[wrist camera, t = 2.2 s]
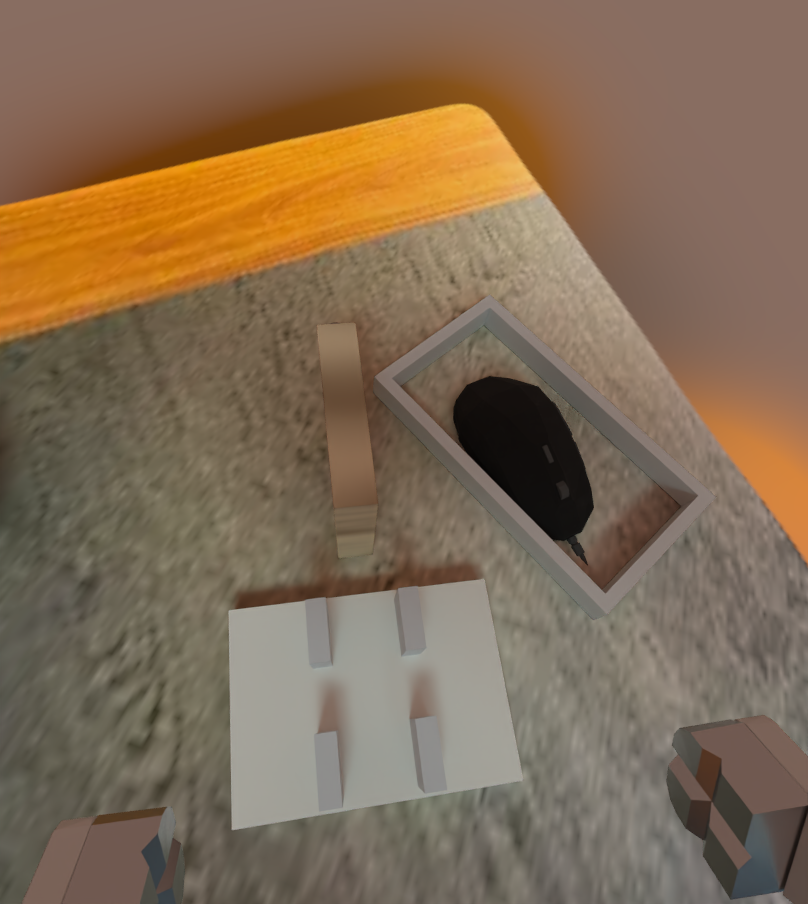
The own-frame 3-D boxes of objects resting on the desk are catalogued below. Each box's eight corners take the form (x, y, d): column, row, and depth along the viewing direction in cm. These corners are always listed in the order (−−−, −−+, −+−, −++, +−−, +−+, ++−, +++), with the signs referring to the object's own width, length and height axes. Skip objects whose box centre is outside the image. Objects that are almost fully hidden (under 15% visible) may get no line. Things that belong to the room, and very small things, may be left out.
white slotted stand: (515, 777, 30) (541, 786, 26) (237, 824, 28) (218, 842, 24) (479, 584, 34) (496, 566, 30) (233, 614, 32) (216, 600, 28)
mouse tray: (698, 507, 37) (716, 497, 35) (593, 620, 34) (607, 614, 32) (483, 312, 42) (489, 294, 41) (373, 392, 39) (374, 376, 37)
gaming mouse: (550, 605, 34) (574, 591, 31) (435, 404, 39) (443, 372, 36) (635, 560, 36) (667, 542, 32) (513, 372, 41) (529, 339, 37)
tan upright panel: (372, 554, 34) (378, 503, 26) (338, 558, 34) (333, 508, 26) (353, 391, 39) (353, 303, 31) (323, 393, 39) (315, 306, 30)
